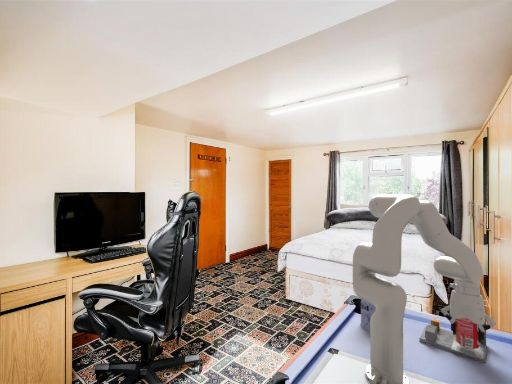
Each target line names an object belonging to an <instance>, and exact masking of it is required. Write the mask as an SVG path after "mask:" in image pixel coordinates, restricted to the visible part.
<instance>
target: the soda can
mask: <svg viewBox="0 0 512 384" xmlns="http://www.w3.org/2000/svg"><path fill="white" fill-rule="evenodd" d="M455 324H456V334H455V336H456V342H457V343H458V344H460V345H461V346H462V347H464V348H467V349H477V348H479V327H478V324H474V323H473V322H472V321H471V320H470V319H468V318H461V319H459V320H458V319H456V321H455Z"/></svg>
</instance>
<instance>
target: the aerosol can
mask: <svg viewBox="0 0 512 384" xmlns="http://www.w3.org/2000/svg"><path fill="white" fill-rule="evenodd" d="M375 310H376V307H375V306H374V305H372V304H370V303H368V302H366V301H364V300H362V299H361V298H360V327H361V328H363V329H364V330H365V331H368V332H370V320H371V316H372V315H373V313H374V312H375Z"/></svg>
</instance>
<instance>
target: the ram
mask: <svg viewBox="0 0 512 384" xmlns="http://www.w3.org/2000/svg"><path fill="white" fill-rule="evenodd" d="M427 325H428V326H427V328H426V330H425V339H426V340H429V341H432V342H434V341H435V339H436V337H437V330H440V328H441V320H440V319H437V318H431V319H430V324H427Z"/></svg>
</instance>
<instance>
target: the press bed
mask: <svg viewBox="0 0 512 384" xmlns="http://www.w3.org/2000/svg"><path fill="white" fill-rule="evenodd" d="M486 324H487V320H486V319H485V322H484V324H483V325H486ZM427 326H428V324H425V327H424V328H423V331H422V332H421V334H420V336H419V337H418V338H419V343H423V344H426V345H428V346H433V347H435V348H439V349H441V350H444V351H448V352H450V353H454V354H457V355H459V356H463V357H465V358H468V359H472V360H474V361H477V362H480V363H483V364H485V363H486V357H487V356H486V354H487V330H486V331H485V332H484V340H482V342H479V348H477V349H467V348H464V347H462V346H461V345H460V344H458V343H457V342H456V336H455V335H453V331H451V330H448V329H443V328H441V327H440V330H437V337H436V339H435V341H434V342H432V341H429V340H426V339H425V330H426V328H427ZM479 329H480V328H479Z"/></svg>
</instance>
